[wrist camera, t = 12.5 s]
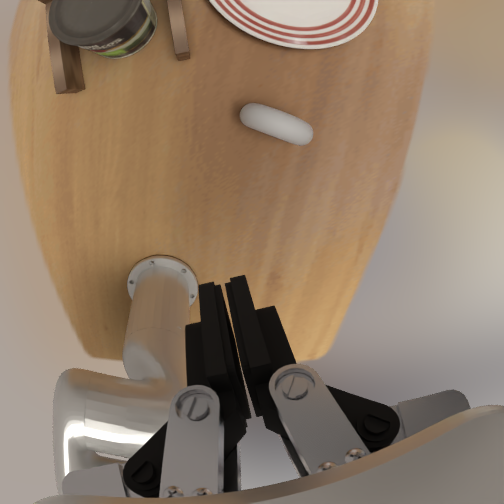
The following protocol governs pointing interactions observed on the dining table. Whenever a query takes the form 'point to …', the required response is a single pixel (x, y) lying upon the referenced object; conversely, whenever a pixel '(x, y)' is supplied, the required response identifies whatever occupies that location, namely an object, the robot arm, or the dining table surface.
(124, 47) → the coffee can
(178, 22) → the frame
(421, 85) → the dining table surface
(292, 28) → the dinner plate
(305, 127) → the donut
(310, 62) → the dining table surface
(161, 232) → the dining table surface
